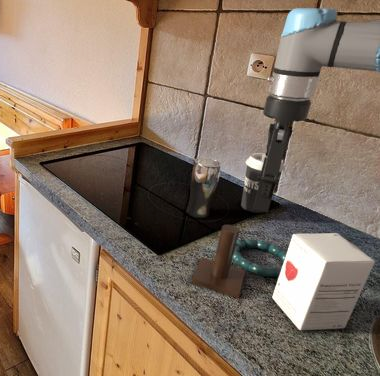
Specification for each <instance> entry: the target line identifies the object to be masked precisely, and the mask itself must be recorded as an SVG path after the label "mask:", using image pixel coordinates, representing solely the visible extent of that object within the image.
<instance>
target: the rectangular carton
mask: <svg viewBox="0 0 380 376" xmlns="http://www.w3.org/2000/svg"><path fill="white" fill-rule="evenodd" d="M286 252H287V254H286V257H285V260H284V262H282V265H281V266H282V269H281V272H280V275H279V277H277V281H276V284H275V287H274V291H273V294H272V297H271V298H272V299H273V301H274V302H275V303H276V304H277V305H278V307H279V308H280V309H281V310H282V311H283V313H284V315H286V316H287V317H288V318H289V319H290V321H291V322H292V323H293V324H294V325H295V327H296V328H297V329H298V330H299V331H316V330H318V331H319V330H338V329H345V328H346V326H347V325H348V322H349V320H350V318H351V315H352V313H353V311H354V309H355V307H356V304H357V302H358V300H359V297H360V296H361V293H362V291H363V289H364V286H365V284H366V283H367V280H368V278H369V276H370V274H371V272H372V269H373V267H374V265H375V264H376V260H375V259H373V258H372V257H370V256H369V255H367V254H366V253H365V252H363V251H362V250H361V249H360V248H359V247H357V246H356V245H355V244H353V243H352V242H350V241H349V240H347V239H346V238H344V237H343V236H342V235H341V234H339V233H338V232H329V233H328V232H327V233H293V234H292V236H291V239H290V242H289V245H288V248H287V251H286Z"/></svg>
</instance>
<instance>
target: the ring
mask: <svg viewBox="0 0 380 376" xmlns="http://www.w3.org/2000/svg"><path fill="white" fill-rule="evenodd" d="M243 249H257V250H262V251H264V252H268V253H270V254H272V255H274V256H276V257H277V258H279V259H280V260H281V262H282V263H284V260H285V257H286V254H287V251H286V250H285V249H283V248H282V247H280V246H278V245H275V244H274V243H271V242H268V241H263V240H259V239H250V238H249V239H247V238H245V239H244V238H243V239H240V240H237V243H236V246H235V250H234V254H233V258H232V261H233V262H234V263H235V264H236V265H237V266H239V267H240V268H241V269H243V270H245V271H247V272H248V273H252V274H256V275H259V276H262V277H266V278H279V275H280V272H281V269H282V266H283V265H280V266H279V267H278V266H276V267H275V266H274V267H273V266H266V265H265V266H264V265H262V264H258V263H254V262H252V261H251V260H249V259H247V258H246V257H244V256H243V255H242V253H241V252H240V251H241V250H243Z"/></svg>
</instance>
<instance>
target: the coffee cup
mask: <svg viewBox="0 0 380 376" xmlns="http://www.w3.org/2000/svg"><path fill="white" fill-rule="evenodd" d="M265 154H266V152H254V153H252V154H251V155H250V156H249V157H247V159H246V160H245V164H246V170H245V177H244V184H243V189H242V197H241V203H240V207H241V208H242V209H244V210H245V211H248V212H251V213H256V214H262V213H264V212H263V211H258V210H254V209H253V206H254V202H255V198H256V194H257V191H258V187H259V185H258V181H259V180H257V177H258V176H260V174H261V170H262V166H263V162H264V158H265V157H267V156H266V155H265ZM285 170H286V166H285V162H284V158H282V162H281V166H280V170H279V174H278V181H277V183H276V185H275V188H276V187H277V184H278V182H279V179H280V177H281V174H282V172H284V171H285Z"/></svg>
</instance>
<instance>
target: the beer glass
mask: <svg viewBox="0 0 380 376" xmlns="http://www.w3.org/2000/svg"><path fill="white" fill-rule="evenodd" d="M193 161H194V162H193V165H192V169H191V173H190V179H189V201H188V204H187V205H186V208H185V212H186V213H187V215H189V216H191V217H193V218H198V219H205V218H208V217H209V216H210V205H211V201H212V198H213V196H214V194H215V192H216V190H217V186H218V184H219V180H220V175H221V167H222V162H221V161H219V160H217V159H215V158H210V157H197V158H195V159H194V160H193Z"/></svg>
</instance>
